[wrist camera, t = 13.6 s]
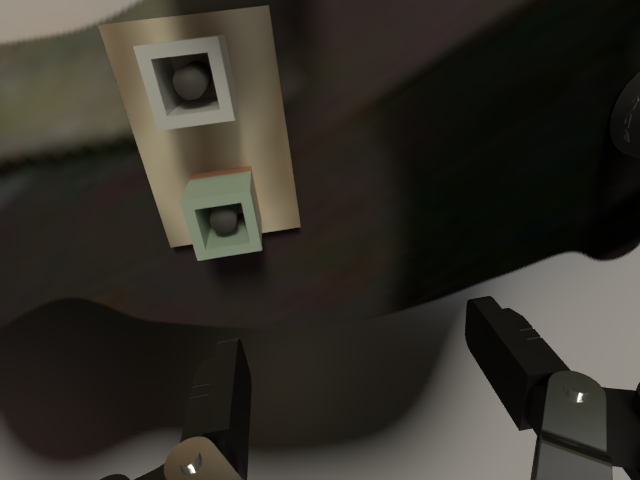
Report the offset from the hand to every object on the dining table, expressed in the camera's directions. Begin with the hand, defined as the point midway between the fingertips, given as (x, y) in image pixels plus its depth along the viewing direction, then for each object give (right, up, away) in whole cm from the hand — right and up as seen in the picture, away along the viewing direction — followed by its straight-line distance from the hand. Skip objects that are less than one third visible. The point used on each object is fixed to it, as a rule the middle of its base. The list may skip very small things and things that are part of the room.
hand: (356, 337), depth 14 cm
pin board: (-10, +12, +20) cm, 25 cm away
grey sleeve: (-10, +16, +16) cm, 25 cm away
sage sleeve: (-9, +7, +21) cm, 24 cm away
